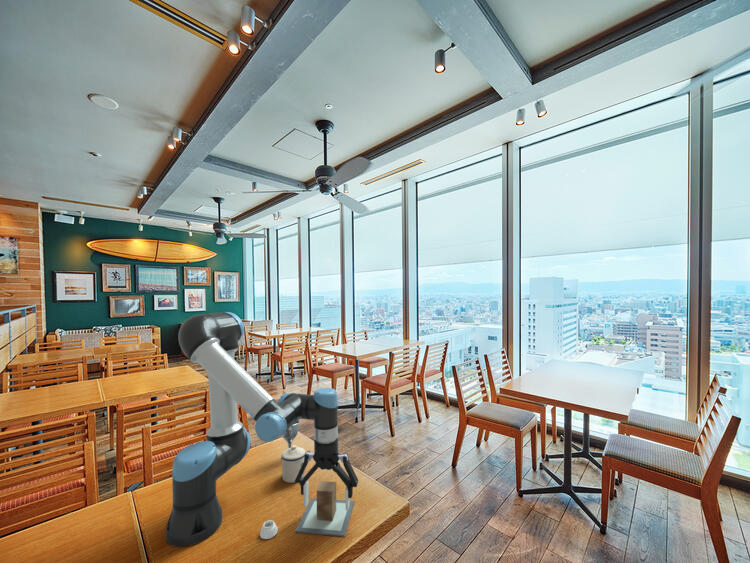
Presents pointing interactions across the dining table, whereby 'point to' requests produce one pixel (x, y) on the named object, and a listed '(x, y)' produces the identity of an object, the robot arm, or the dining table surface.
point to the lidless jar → (268, 530)
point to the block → (326, 501)
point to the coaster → (326, 527)
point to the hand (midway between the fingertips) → (326, 506)
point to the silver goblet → (291, 433)
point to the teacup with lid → (292, 463)
